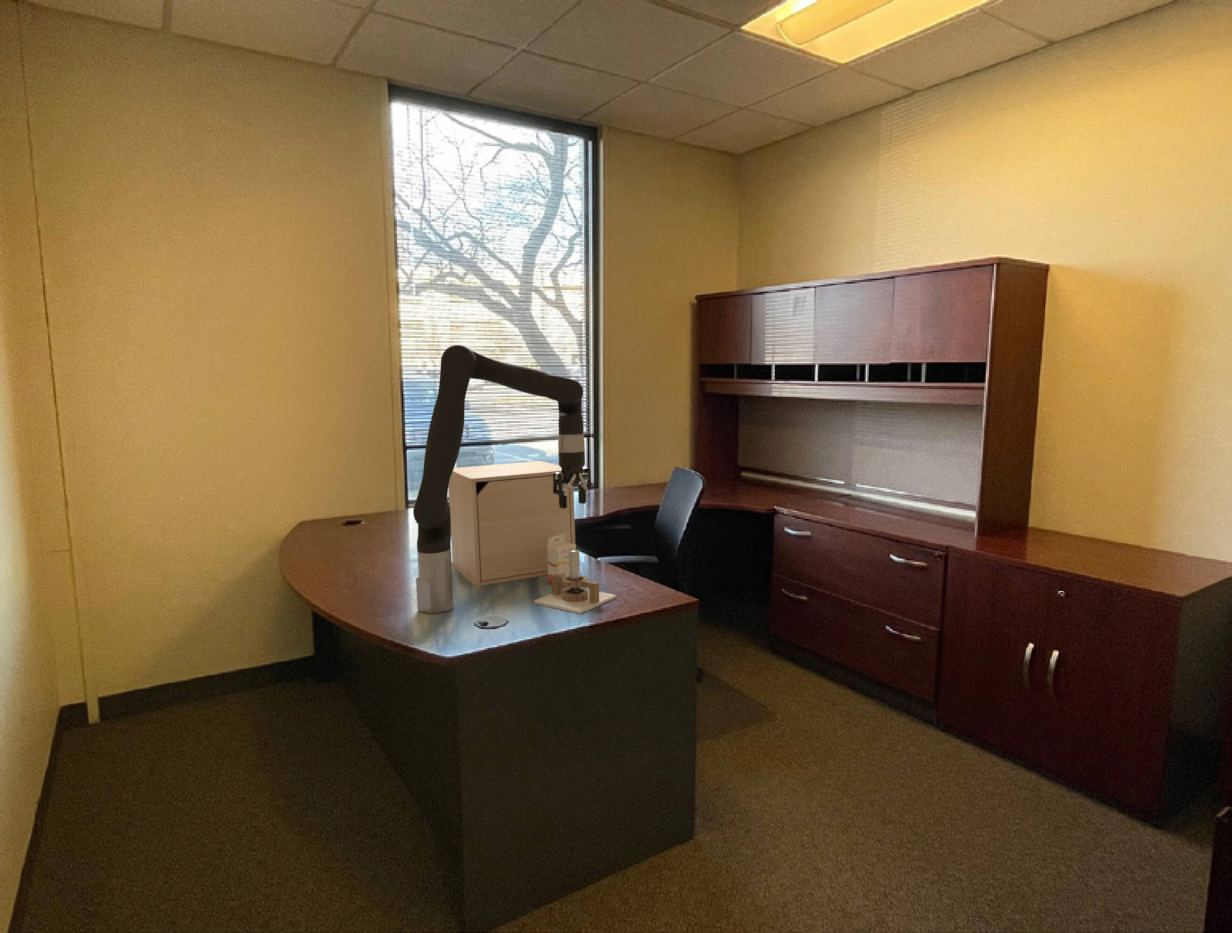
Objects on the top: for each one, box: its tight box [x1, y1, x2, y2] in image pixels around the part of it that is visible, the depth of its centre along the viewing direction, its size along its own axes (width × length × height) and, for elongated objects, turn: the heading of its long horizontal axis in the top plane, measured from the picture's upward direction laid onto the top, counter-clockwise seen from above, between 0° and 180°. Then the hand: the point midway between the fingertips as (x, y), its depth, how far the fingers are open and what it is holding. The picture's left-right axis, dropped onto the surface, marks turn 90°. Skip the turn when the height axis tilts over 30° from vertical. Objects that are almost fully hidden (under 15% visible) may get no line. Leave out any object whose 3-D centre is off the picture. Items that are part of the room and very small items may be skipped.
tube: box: [569, 549, 581, 594], centre depth 210 cm, size 3×3×14 cm
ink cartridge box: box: [547, 534, 577, 584], centre depth 230 cm, size 9×5×15 cm, turn 141°
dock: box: [533, 574, 617, 615], centre depth 210 cm, size 17×17×6 cm
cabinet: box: [448, 460, 576, 587], centre depth 246 cm, size 35×29×34 cm
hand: (573, 505), depth 207 cm, fingers open, 8 cm apart
